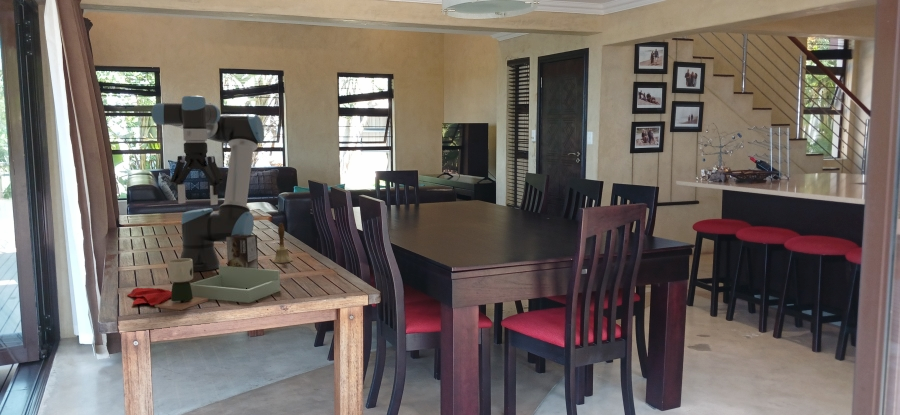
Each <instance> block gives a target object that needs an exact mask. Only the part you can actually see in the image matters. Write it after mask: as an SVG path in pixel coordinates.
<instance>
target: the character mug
mask: <svg viewBox="0 0 900 415" xmlns="http://www.w3.org/2000/svg"><path fill="white" fill-rule="evenodd" d="M167 268H168V271H167V272H168V281H169V282H171V283H172V285H171V286H172V287H171V291H172V293H171V297H170V299H171V301H182V302H184V301H189V300H192V299H193V296H192V290H191V285H190V281H191V280H193V279H194V272H193V261H192V259H188V258H181V257H180V258H173V259H169V260H168V261H167Z"/></svg>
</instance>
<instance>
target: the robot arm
mask: <svg viewBox="0 0 900 415" xmlns="http://www.w3.org/2000/svg"><path fill="white" fill-rule="evenodd" d="M151 118H152V121H153V122H154V124H156V125H161V126H165V125H169V126H173V127H177V128H180V129H182V133H183V134H182V135H183V141H184V143H183V153H185V155H179V156H177V161H176V165H175V168H174V171H173V173H172V176H171V179H170V183H174V184H175V186H176V188H175V189H176V190H175V191H176V194H177V198H178V202H177V203H178V204H180V205H181V204H186V203H187V202H186V184H185V183H184V182H185V180H186V179H187V178H188V176H189V174H190V173H191V171H192V170H200V171H202V173H203V174H204V176H205V177H206V178H207V179H208V181H209V182H210V183H211V184H210V185H209V192H210V206H215V205H219V202H218V201H219V200H218V198H219V197H218V195H219V194H220V185H221V184H224V182H225V181H224V179H223V177H222V174H221V172H220V170H219V168H218V166H217V163H216V158H215V156H214V155H213V156H212V155H210V156H209V155H208V156H207V153H208V143H207V141H208V140H209V141H214V142H218V143H226V144H227V146H228V147H230V156H229V162H228V163H229V164H228V171H227V178H226V186H225V193H224V200H223V203H222V204H220V205H219V206H218V207H219V209H218V211H216V212H215V211H214V209H213V207H210V208H199V209H192V210H188V211H185V212H183V213H182V214H181V223H180V225H181V239H182V240H181V241H182V251H181V254H180V255H181V256H180V258H188V259H192V261H193V273H194V272H206V271H212V270H216V269H219V266H221V265H220V260H219V258H218V254H217V252H216V251H217V250H216V249H215V243H219V242H220V243H227V240H226V237H228V236H232V235H235V234H244V235H253V230H254V225H255V222H254V220H255V217H254V215H253V213H252V212H251V209H250V207H249V206H248V197H249V190H250V180H251V173H252V172H251V171H252V162H253V157H254V152H255V151H256V150H258V147H259V144H262V143H263V142H264V140H265V130H264V126H263V122H262V119H261V118H260V116H259V115H258V114H250V113H247V114H244V113H243V114H242V113H241V114H231V113H229V114H228V113H225V114H221V110H220V109H219V107H218V106H217V105H216V104H213V103H210V102H209V103H208V102H206V98H205V96H201V95H185V96H182V98H181V102H180V103H179V102H178V103H175V102H174V103H173V102H172V103H170V102H168V103H165V102H163V103H162V102H161V103H155V104H154V105H152V109H151Z"/></svg>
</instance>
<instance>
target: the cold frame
mask: <svg viewBox="0 0 900 415" xmlns="http://www.w3.org/2000/svg"><path fill="white" fill-rule="evenodd" d="M280 272H281V271H280V270H279V269H278V270H277V269H267V268H266V269H265V268H258V269H255V268H243V267H230V266H228V265H220V266H219V268H218V274H217V275H214V276H211V277H207V278H204V279H200V280H197V281H194V282H191V283H190V282H189V283H190V285H191V290H192V296H193V297H202V298H208V300H218V301H226V302H237V303H246V304H247V303H248V304H249V303H252V302H255V301H257V300H259V299H262V298H263V299H264V298H265V297H268V296H270V295H273V294H275V293H277V292H280V291H281V277H280V276H281V275H280ZM246 288H247V289H246Z"/></svg>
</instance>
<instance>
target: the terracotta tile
mask: <svg viewBox="0 0 900 415" xmlns="http://www.w3.org/2000/svg"><path fill="white" fill-rule="evenodd" d="M208 301H209V299H208V298H202V297H193V299H192V300H189V301H184V302H182V301H171V298H169V299H167V300H165V301H164V302H162V303H159V304H156V305H154V307H155V308H161V309H168V310H169V309H172V310H179V311H183V310H185V309H188V308H191V307H194V306H197V305H200V304H202V303H205V302H208Z"/></svg>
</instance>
